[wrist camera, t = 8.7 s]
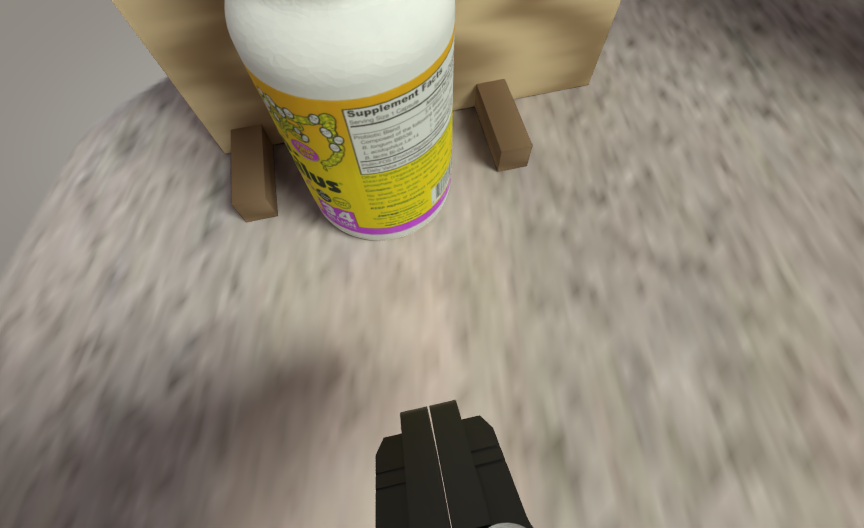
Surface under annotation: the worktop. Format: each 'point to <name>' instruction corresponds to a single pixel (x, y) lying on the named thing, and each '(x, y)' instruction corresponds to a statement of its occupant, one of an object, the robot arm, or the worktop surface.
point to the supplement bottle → (358, 102)
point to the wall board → (472, 74)
